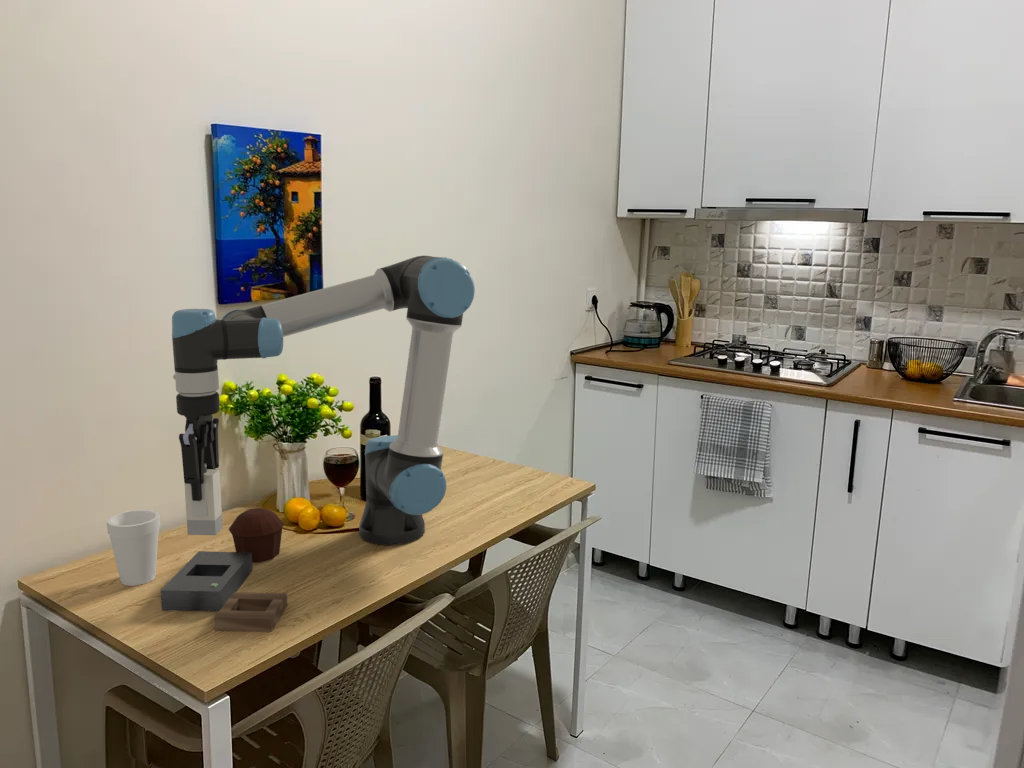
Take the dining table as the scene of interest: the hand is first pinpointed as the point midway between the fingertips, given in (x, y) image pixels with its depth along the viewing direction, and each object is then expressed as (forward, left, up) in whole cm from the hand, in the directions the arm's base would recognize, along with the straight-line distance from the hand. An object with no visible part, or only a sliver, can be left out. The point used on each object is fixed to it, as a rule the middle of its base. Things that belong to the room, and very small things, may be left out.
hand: (204, 511), depth 156 cm
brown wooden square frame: (-12, +11, -16) cm, 23 cm away
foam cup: (+16, -4, -16) cm, 23 cm away
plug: (0, 0, -4) cm, 4 cm away
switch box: (0, 0, -16) cm, 16 cm away
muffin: (-4, -17, -16) cm, 24 cm away
